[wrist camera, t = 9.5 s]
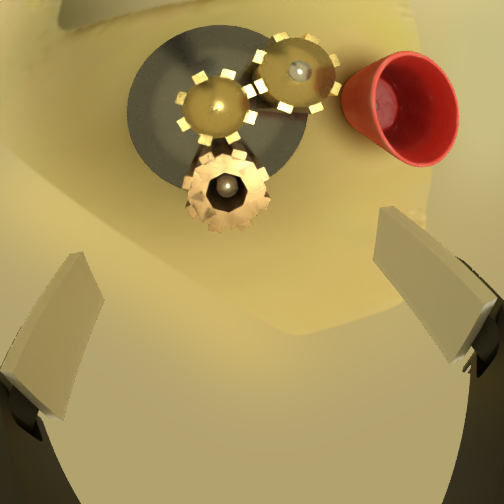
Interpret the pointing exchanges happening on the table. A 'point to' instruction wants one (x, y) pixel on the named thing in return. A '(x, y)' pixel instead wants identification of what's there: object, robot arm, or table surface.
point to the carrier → (227, 98)
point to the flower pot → (404, 107)
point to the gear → (207, 197)
